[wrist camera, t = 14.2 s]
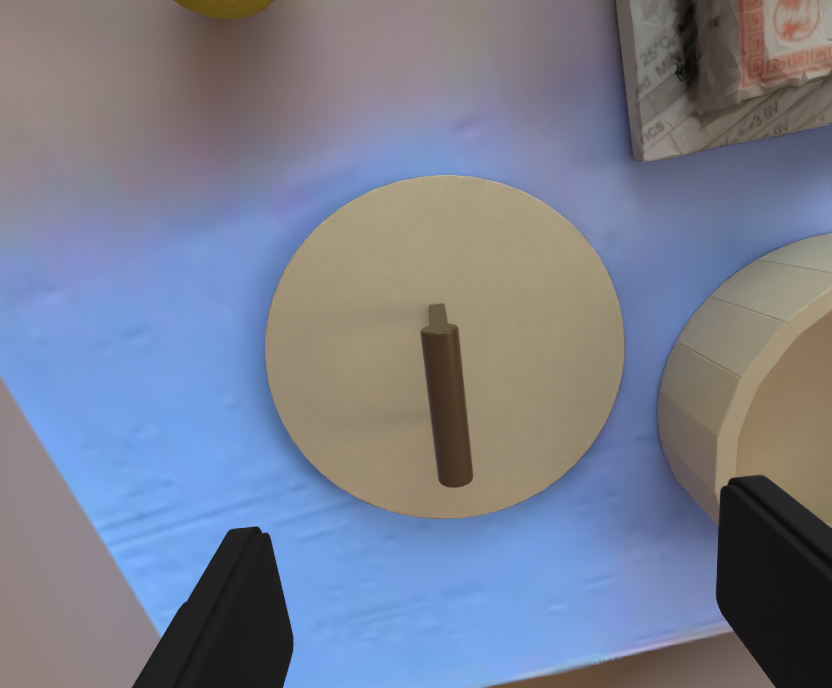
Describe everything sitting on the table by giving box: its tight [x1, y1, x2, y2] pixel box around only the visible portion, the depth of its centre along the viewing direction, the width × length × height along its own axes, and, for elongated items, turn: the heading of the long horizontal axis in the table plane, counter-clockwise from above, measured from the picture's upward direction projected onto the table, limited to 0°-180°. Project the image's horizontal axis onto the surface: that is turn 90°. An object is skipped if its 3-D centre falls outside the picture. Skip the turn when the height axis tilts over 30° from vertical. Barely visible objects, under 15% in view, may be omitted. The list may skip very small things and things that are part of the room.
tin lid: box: [265, 175, 625, 519], centre depth 21 cm, size 17×17×7 cm
